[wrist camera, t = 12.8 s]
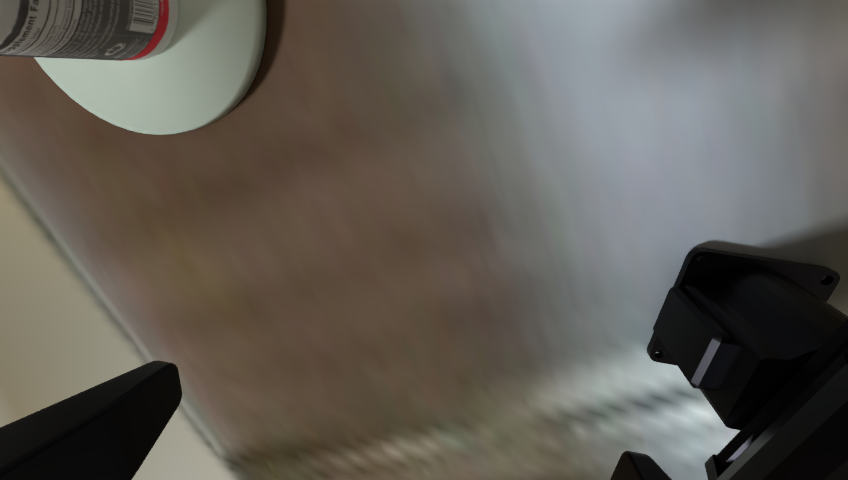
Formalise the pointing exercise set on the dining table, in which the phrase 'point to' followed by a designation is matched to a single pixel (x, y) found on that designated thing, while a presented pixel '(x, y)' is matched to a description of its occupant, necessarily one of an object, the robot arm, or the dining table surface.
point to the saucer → (174, 71)
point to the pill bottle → (87, 28)
